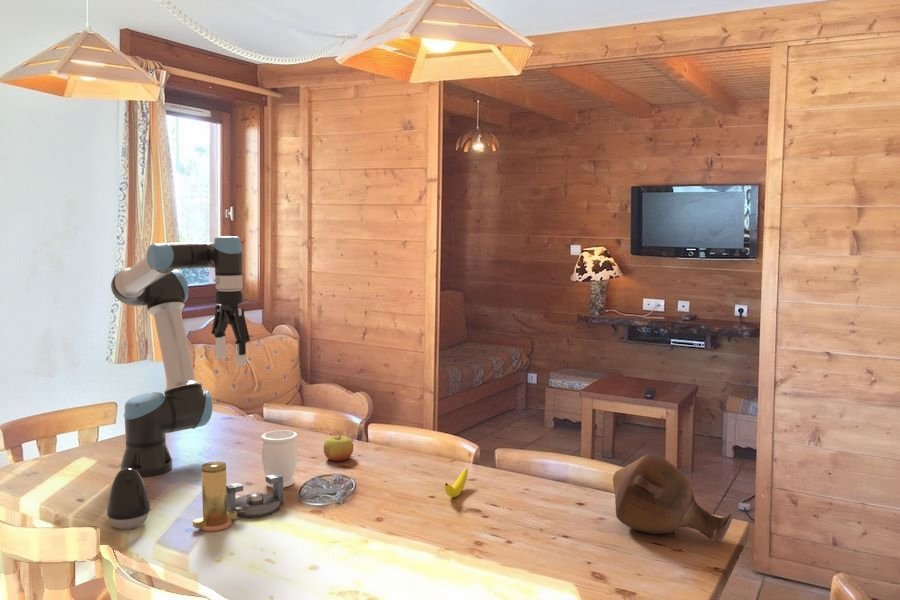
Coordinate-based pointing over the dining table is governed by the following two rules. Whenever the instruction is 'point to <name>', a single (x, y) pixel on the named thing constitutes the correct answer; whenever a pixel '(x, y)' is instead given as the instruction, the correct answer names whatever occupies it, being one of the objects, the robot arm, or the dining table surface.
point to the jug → (661, 500)
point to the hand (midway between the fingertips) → (230, 362)
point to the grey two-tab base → (256, 499)
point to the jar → (280, 455)
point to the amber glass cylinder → (214, 496)
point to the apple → (338, 448)
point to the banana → (457, 485)
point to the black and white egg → (128, 500)
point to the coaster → (217, 527)
